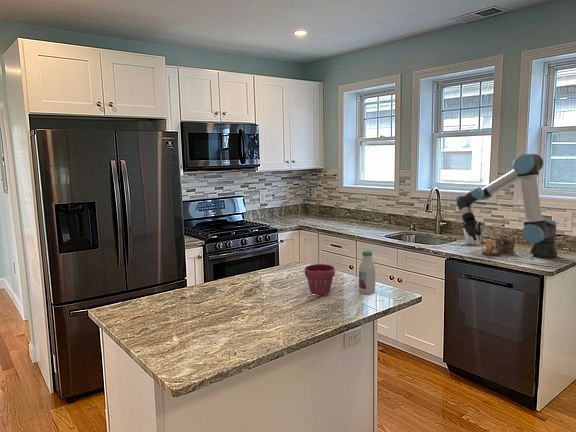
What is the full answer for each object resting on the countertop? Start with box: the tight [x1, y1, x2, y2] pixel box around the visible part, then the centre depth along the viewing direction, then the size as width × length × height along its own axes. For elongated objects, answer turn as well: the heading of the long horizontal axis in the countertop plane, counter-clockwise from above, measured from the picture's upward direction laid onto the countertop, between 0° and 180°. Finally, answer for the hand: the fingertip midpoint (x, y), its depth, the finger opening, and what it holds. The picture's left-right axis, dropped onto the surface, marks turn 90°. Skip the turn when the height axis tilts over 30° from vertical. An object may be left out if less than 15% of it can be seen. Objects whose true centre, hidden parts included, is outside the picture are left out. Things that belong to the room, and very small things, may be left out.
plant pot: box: [304, 263, 336, 295], centre depth 211 cm, size 14×14×13 cm
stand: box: [467, 237, 515, 259], centre depth 283 cm, size 24×17×10 cm
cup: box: [462, 228, 476, 245], centre depth 316 cm, size 10×10×11 cm
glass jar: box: [475, 221, 486, 244], centre depth 327 cm, size 10×10×14 cm
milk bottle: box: [358, 250, 376, 295], centre depth 211 cm, size 8×8×20 cm
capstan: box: [481, 238, 499, 257], centre depth 281 cm, size 11×12×10 cm
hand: (478, 244), depth 285 cm, fingers closed
